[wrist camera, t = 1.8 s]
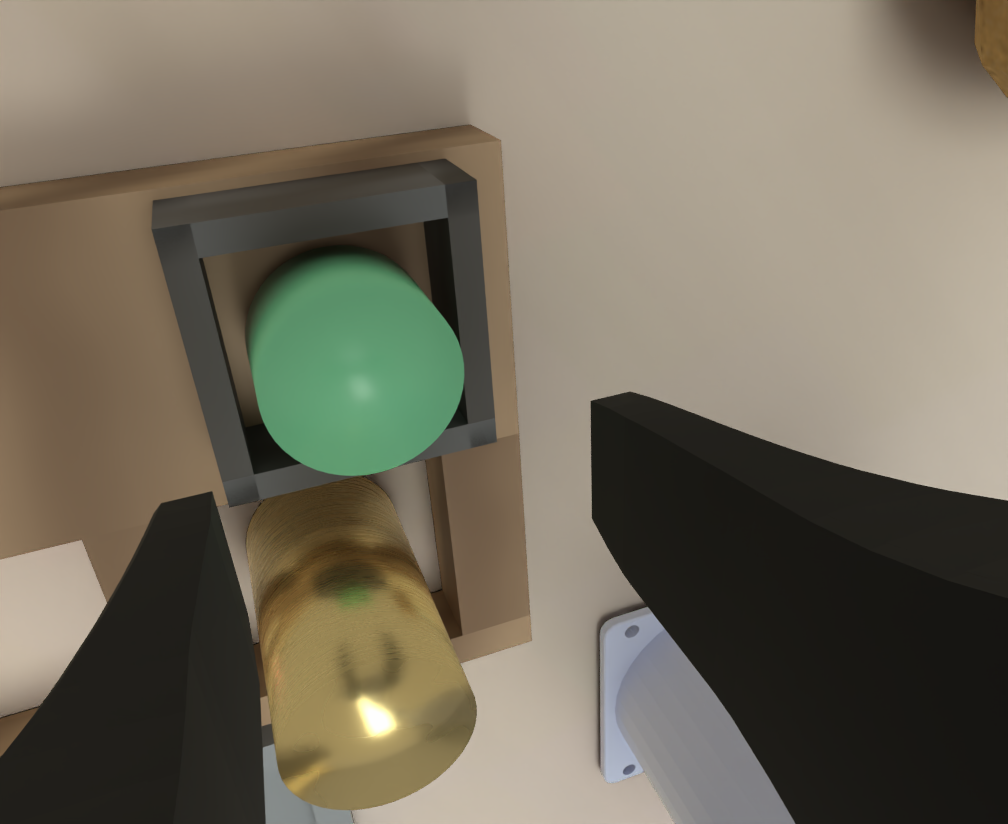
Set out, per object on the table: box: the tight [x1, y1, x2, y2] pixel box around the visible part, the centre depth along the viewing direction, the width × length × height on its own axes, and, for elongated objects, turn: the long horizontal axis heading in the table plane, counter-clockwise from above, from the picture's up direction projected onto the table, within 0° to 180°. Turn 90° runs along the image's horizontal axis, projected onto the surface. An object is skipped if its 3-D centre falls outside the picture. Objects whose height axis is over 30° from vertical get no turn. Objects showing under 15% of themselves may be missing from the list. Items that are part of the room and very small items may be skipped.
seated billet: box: [246, 476, 477, 810], centre depth 19 cm, size 4×4×7 cm
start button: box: [245, 245, 464, 476], centre depth 15 cm, size 4×4×2 cm
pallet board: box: [0, 125, 532, 757], centre depth 18 cm, size 18×14×4 cm
